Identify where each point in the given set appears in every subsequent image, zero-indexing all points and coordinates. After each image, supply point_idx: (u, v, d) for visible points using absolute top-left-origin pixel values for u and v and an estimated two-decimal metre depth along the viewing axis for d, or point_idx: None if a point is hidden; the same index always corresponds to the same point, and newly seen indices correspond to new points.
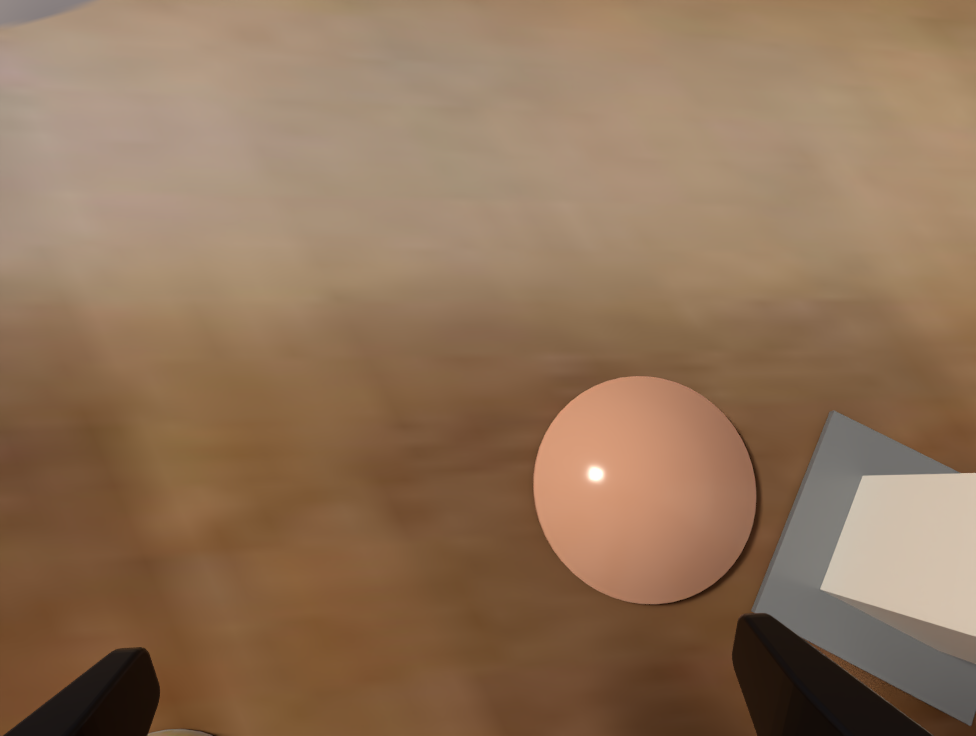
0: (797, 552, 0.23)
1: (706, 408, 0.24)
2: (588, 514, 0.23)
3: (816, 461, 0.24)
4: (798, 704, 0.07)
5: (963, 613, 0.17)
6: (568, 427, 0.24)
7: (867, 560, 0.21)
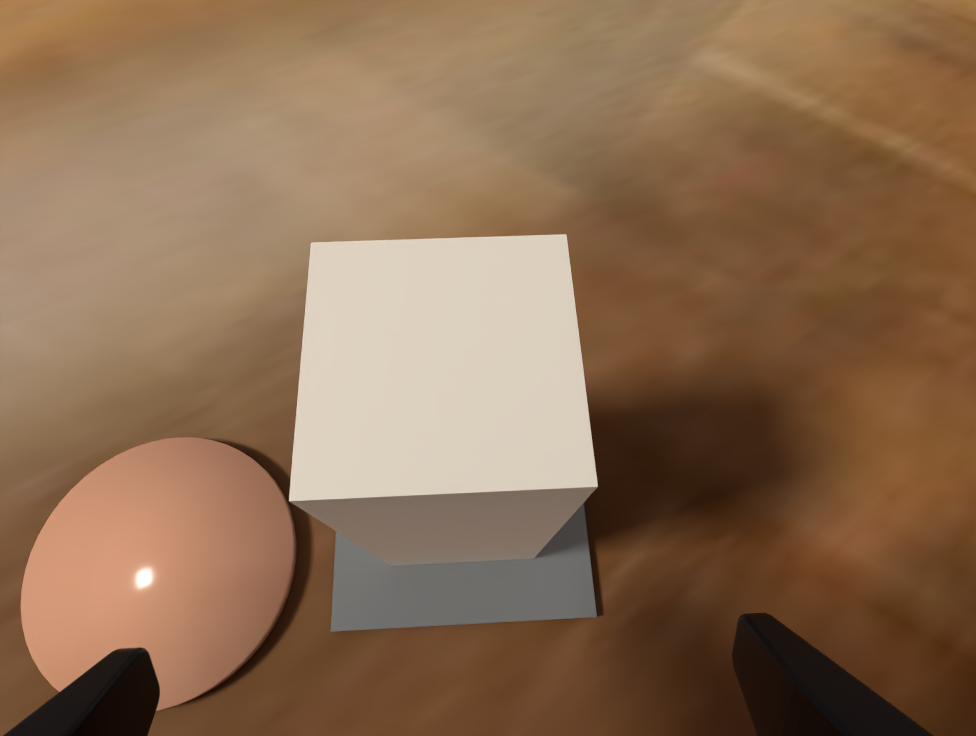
0: None
1: (205, 447, 0.22)
2: (99, 631, 0.19)
3: None
4: (798, 704, 0.07)
5: None
6: (51, 548, 0.20)
7: None
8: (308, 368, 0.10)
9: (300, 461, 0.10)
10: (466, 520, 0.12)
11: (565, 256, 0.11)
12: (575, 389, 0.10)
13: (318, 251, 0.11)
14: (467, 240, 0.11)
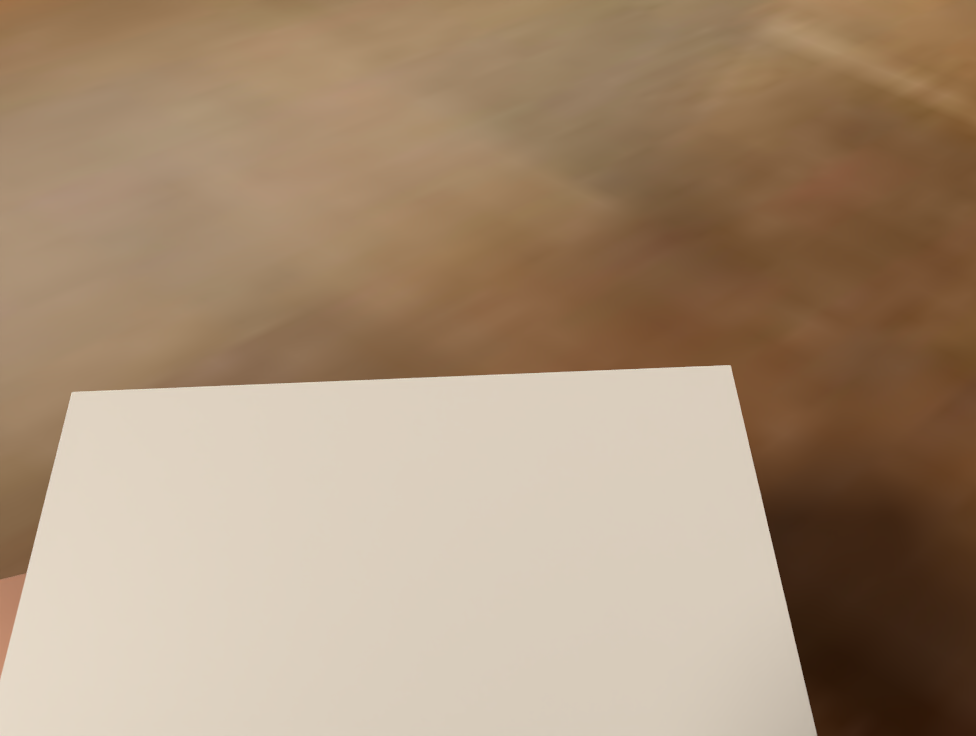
0: None
1: None
2: None
3: None
4: None
5: None
6: None
7: None
8: None
9: None
10: None
11: (735, 428, 0.04)
12: None
13: (86, 418, 0.04)
14: (477, 383, 0.04)
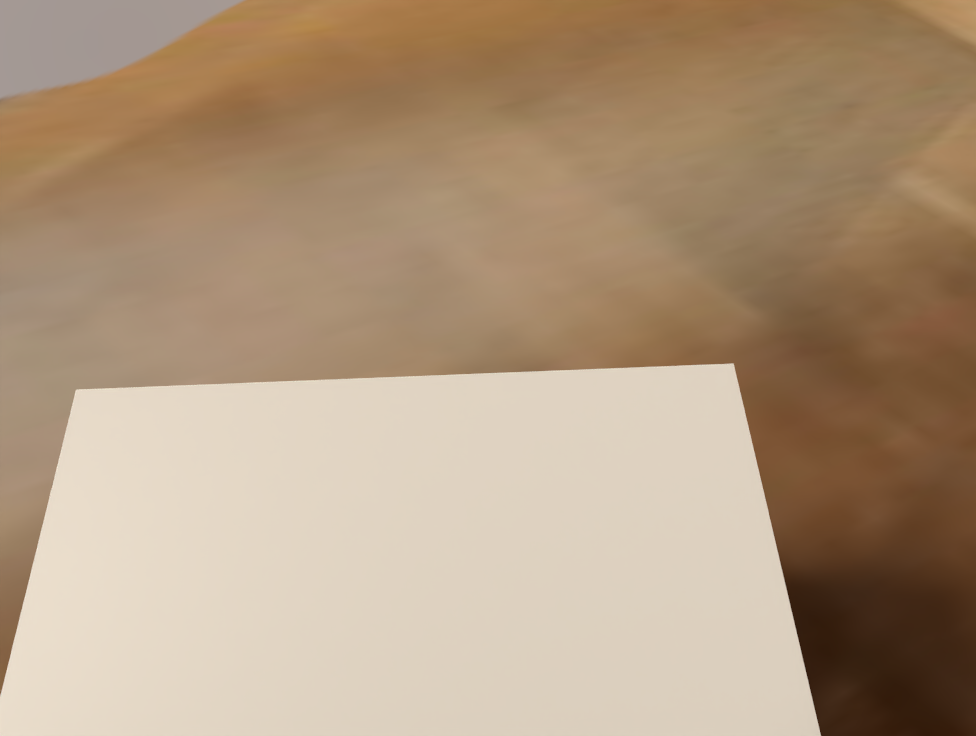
0: None
1: None
2: None
3: None
4: None
5: None
6: None
7: None
8: None
9: None
10: None
11: (738, 427, 0.04)
12: None
13: (90, 416, 0.04)
14: (481, 383, 0.04)
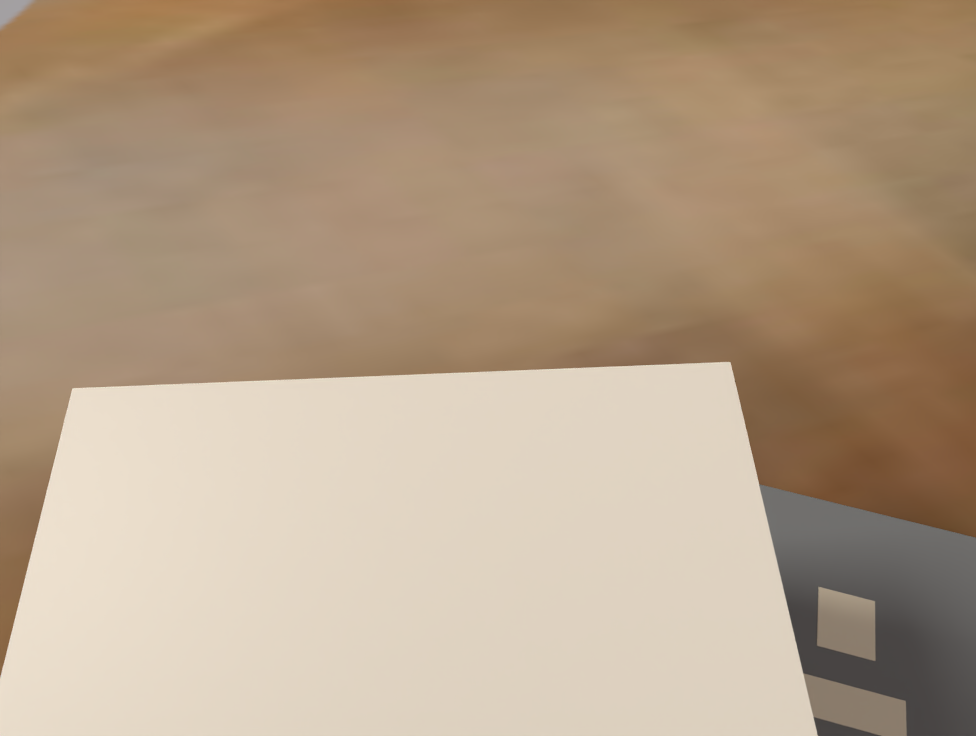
0: None
1: None
2: None
3: None
4: None
5: None
6: None
7: None
8: None
9: None
10: None
11: (735, 425, 0.04)
12: None
13: (87, 414, 0.04)
14: (478, 381, 0.04)
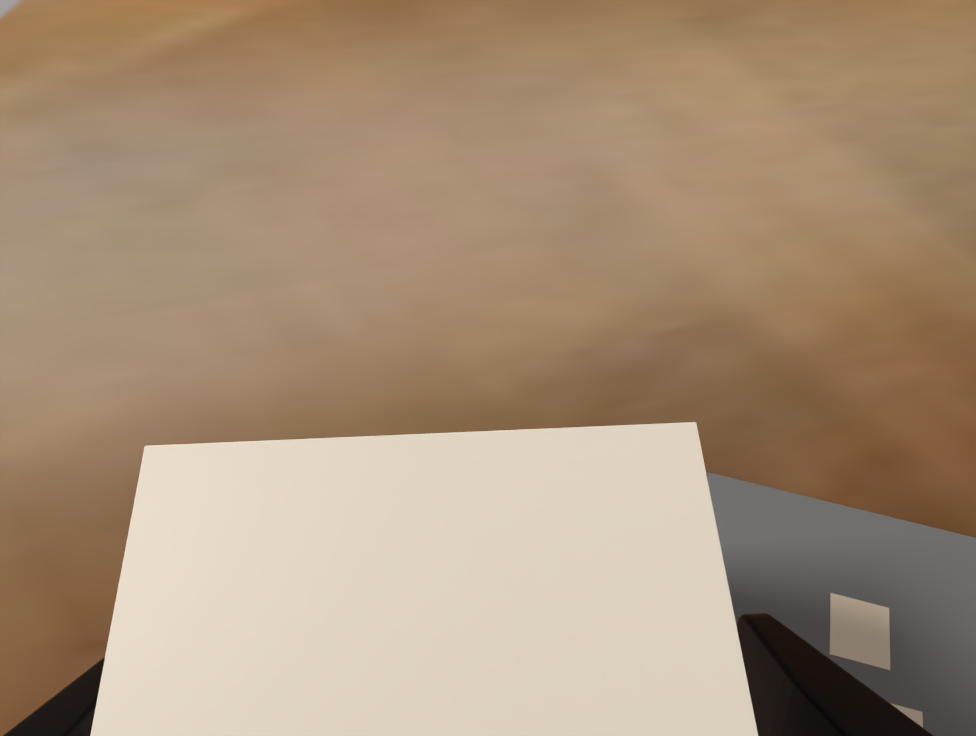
0: None
1: None
2: None
3: None
4: (798, 704, 0.07)
5: None
6: None
7: None
8: None
9: None
10: None
11: (698, 477, 0.05)
12: None
13: (158, 469, 0.05)
14: (483, 439, 0.05)
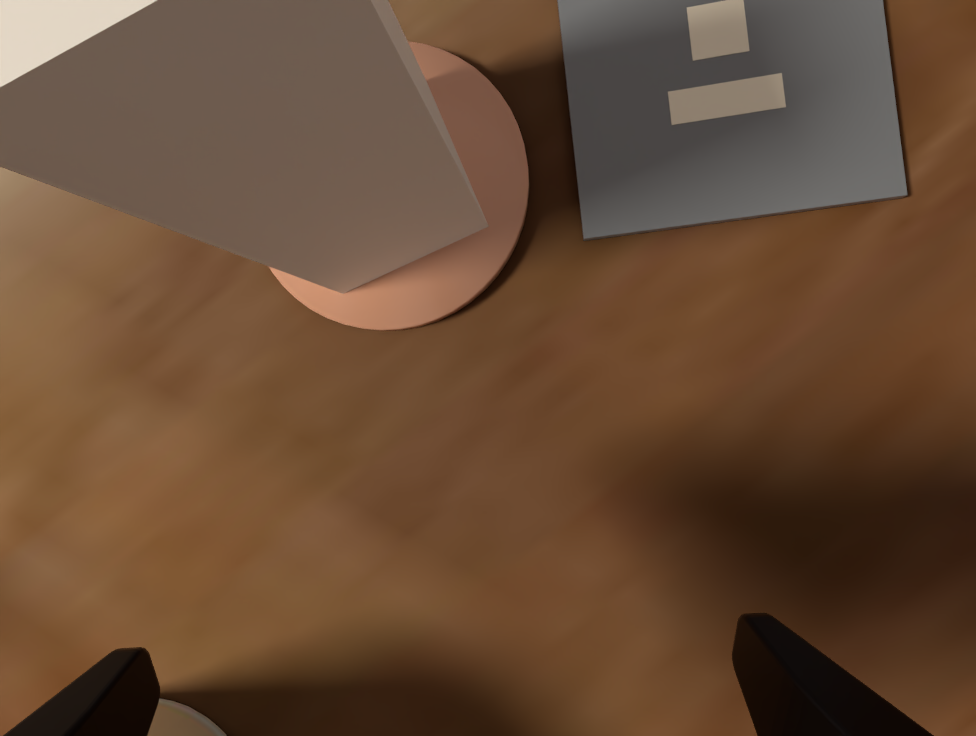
0: (596, 140, 0.17)
1: None
2: None
3: (563, 22, 0.18)
4: (798, 704, 0.07)
5: None
6: None
7: None
8: None
9: None
10: (273, 130, 0.09)
11: None
12: None
13: None
14: None
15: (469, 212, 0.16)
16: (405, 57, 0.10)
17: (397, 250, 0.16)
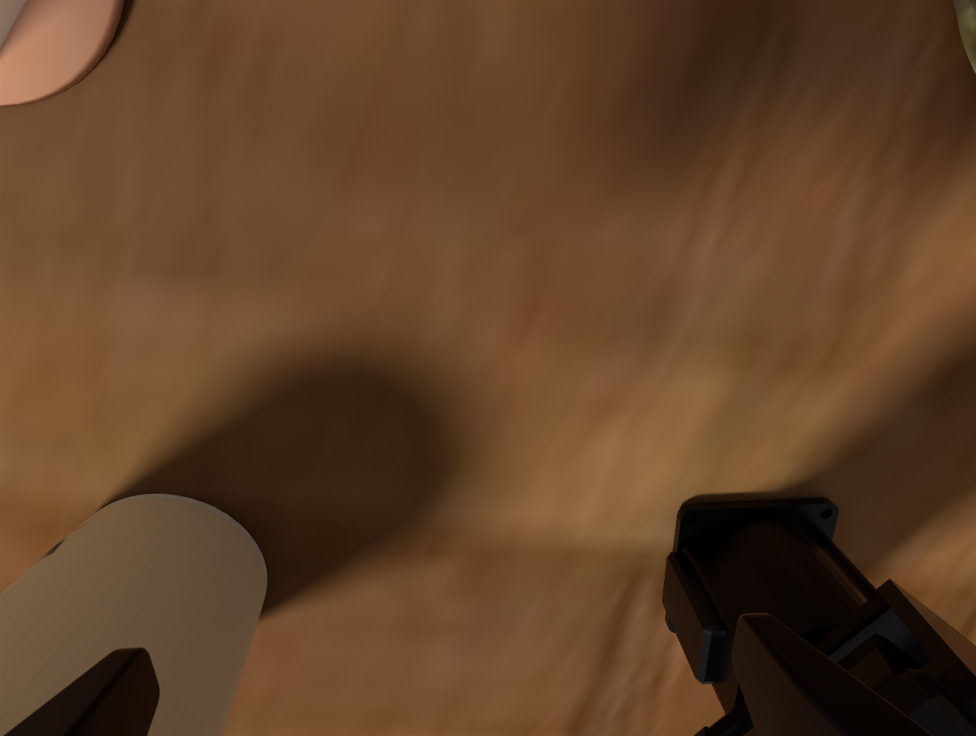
0: None
1: None
2: None
3: None
4: (798, 704, 0.07)
5: None
6: None
7: None
8: None
9: None
10: None
11: None
12: None
13: None
14: None
15: None
16: None
17: None
